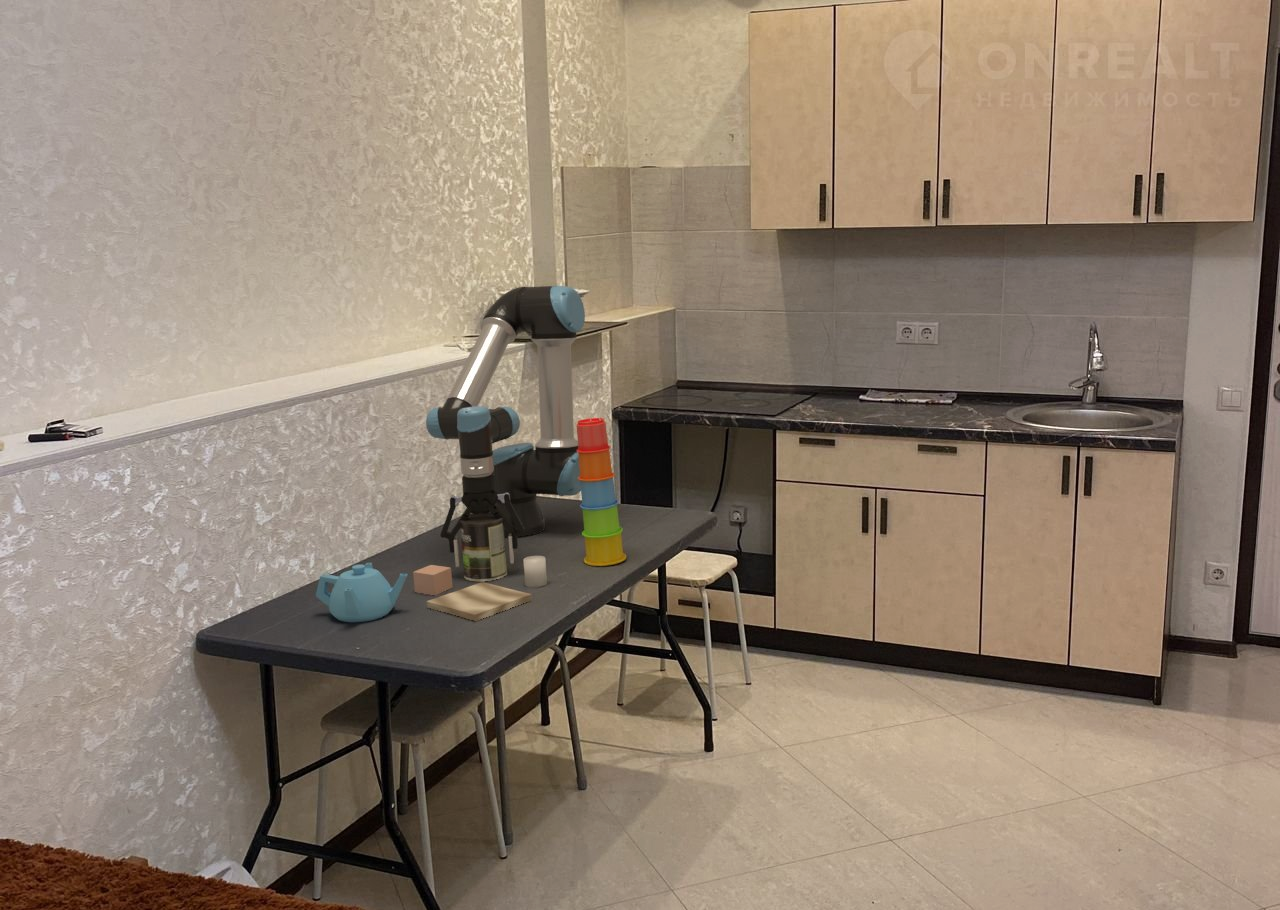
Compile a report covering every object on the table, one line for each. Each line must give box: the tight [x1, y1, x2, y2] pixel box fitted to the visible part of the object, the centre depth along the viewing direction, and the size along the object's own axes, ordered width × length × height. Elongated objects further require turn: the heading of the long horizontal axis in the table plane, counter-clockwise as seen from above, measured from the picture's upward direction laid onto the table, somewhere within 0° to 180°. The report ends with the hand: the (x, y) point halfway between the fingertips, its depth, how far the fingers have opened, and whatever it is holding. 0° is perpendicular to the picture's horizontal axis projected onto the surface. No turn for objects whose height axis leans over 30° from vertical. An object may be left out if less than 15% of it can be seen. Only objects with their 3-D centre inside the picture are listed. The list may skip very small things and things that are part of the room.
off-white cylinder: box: [522, 555, 548, 588], centre depth 267 cm, size 5×5×6 cm
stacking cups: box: [575, 417, 627, 567], centre depth 279 cm, size 10×10×35 cm
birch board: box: [426, 582, 532, 622], centre depth 255 cm, size 16×16×2 cm
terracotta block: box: [412, 564, 453, 596], centre depth 266 cm, size 6×6×5 cm
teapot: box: [315, 562, 408, 623], centre depth 252 cm, size 15×15×11 cm
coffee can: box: [460, 512, 508, 583], centre depth 274 cm, size 10×10×14 cm
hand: (485, 563), depth 275 cm, fingers open, 12 cm apart
